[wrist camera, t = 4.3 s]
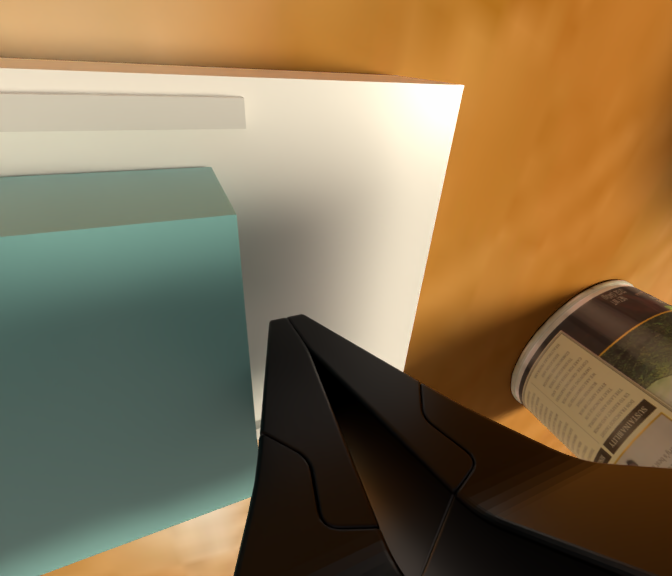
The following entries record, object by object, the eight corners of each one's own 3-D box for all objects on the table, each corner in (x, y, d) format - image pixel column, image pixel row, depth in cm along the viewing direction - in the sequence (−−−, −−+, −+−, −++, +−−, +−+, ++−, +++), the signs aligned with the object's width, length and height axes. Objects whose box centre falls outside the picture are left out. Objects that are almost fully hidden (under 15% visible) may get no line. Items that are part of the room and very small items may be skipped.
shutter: (211, 166, 7) (235, 213, 5) (241, 412, 11) (261, 492, 9) (-210, 186, 5) (-427, 277, 3) (6, 479, 9) (-32, 602, 7)
